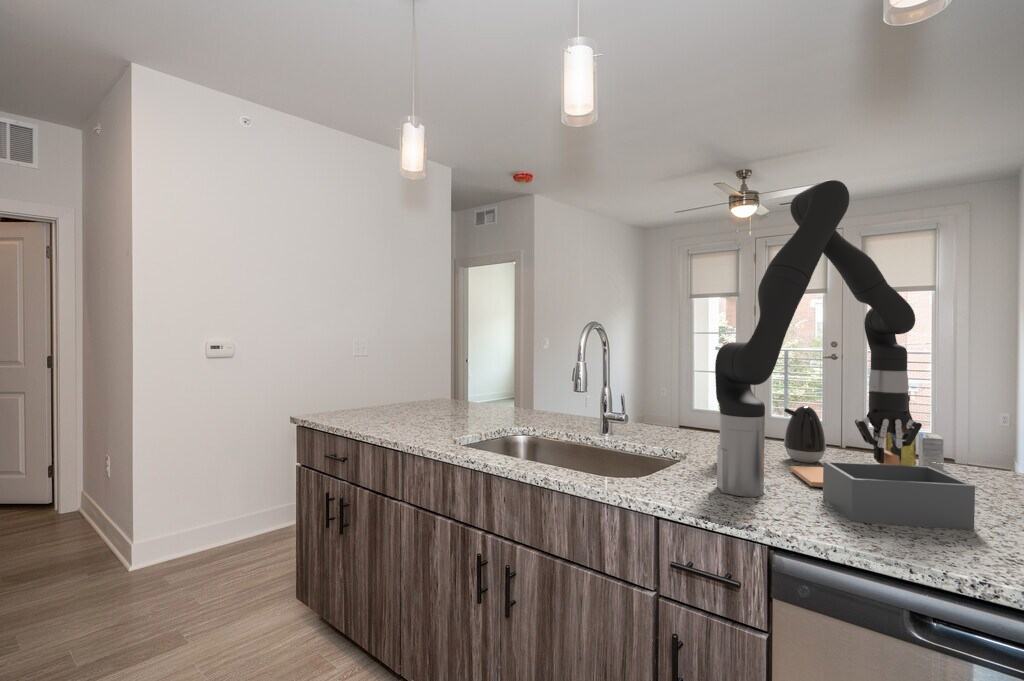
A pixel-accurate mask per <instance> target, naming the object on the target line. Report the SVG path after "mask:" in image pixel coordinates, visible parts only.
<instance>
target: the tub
mask: <svg viewBox="0 0 1024 681" xmlns="http://www.w3.org/2000/svg"><path fill="white" fill-rule="evenodd" d="M822 464H823V466H822V467H823V487H822V499H823V500H824V501H825V502H826V503H828V504H829V505H831V506H832V507H833V509H835V510H837V511H838V512H839V513H840V514H842V515H843V516H844V517H845V518H846V519H848V520H849V521H850V522H852V523H865V524H881V525H893V526H894V525H895V526H896V525H897V526H907V527H908V526H911V527H921V528H922V527H923V528H926V527H927V528H939V529H940V528H941V529H942V528H943V529H953V530H968V531H969V530H971V531H975V514H976V513H975V509H976V507H975V505H976V504H975V502H976V485H974V484H971V483H970V482H967V481H964V480H963V479H960V478H957V477H954V476H953V475H951V474H948V473H946V472H941V471H939V470H936V469H934V468H932V467H928V466H920V465H916V466H908V465H887V464H880V463H866V462H865V463H864V462H863V463H861V462H842V461H823V463H822Z"/></svg>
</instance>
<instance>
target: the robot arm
mask: <svg viewBox="0 0 1024 681" xmlns="http://www.w3.org/2000/svg"><path fill="white" fill-rule="evenodd" d="M849 205H850V191H849V188H848V187H847V186H846V184H845V183H843V182H842V181H840V180H838V179H827V180H823V181H821V182H819V183H816V184H814V185H812V186H810V187H809V188H806V189H805V190H803V191H801V192H800V193H798V194H796V195H794V197H793V199H792V200H791V203H790V207H789V209H790V214H791V216H792V219H793V220H794V222H795V223H796V224H797V225H798V229H797V230H796V231H795V233H794V234H793V235H792V236H791V237H790V238H789V239H788V240H787V241H786V243H785V244H784V245H782V247H781V249H779V251H778V252H777V253H776V254H775V255H774V257H773V258H772V260H771V261H770V262H769V264H768V266H767V268H766V270H765V271H764V272H765V273H764V274H763V277H762V278H761V281H760V284H759V286H758V290H757V299H758V300H757V301H758V307H759V319H758V322H757V325H756V327H755V329H754V331H753V334H752V335H751V337H750V339H749V340H748V342H747V341H746V342H743V341H737V342H736V341H731V342H727V343H725V344H723V345H721V347H720V348H719V350H718V351H717V354H716V358H715V364H714V366H715V368H714V370H715V371H714V372H715V373H714V375H715V377H714V378H715V395H716V401H717V403H718V406H719V444H717V446H716V447H717V448H716V449H717V452H716V455H717V457H716V458H717V459H716V460H717V462H716V486H717V488H718V489H719V490H720V492H721V494H727V495H728V494H729V495H733V496H738V497H745V498H746V497H749V498H751V497H752V498H753V497H754V498H755V497H760V496H763V495H764V493H765V445H766V444H765V443H766V442H765V439H766V438H765V436H766V432H765V431H766V430H765V429H766V406H765V403H764V402H763V401H762V400H761V399H759V398H758V397H757V396H756V395H755V394H754V393H753V391H752V388H751V386H759V385H762V384H764V383H765V382H766V381H768V379H769V378H770V377H771V375H772V374H773V372H774V371H775V368H776V366H777V362H778V359H779V356H780V353H781V350H782V347H783V344H784V341H785V338H786V335H787V332H788V330H789V328H790V325H791V324H792V321H793V317H794V316H795V313H796V311H797V309H798V306H799V305H800V303H801V300H802V298H803V297H804V295H805V294H806V293H805V292H806V290H807V288H808V287H809V284H810V282H811V280H812V277H813V274H814V272H815V269H817V266H818V264H819V262H820V261H821V258H822V255H824V256H825V257H826V258H827V259H828V260H829V261H830V263H831V264H832V265H833V266H834V268H835V269H836V270H837V272H838V274H839V275H840V276H841V278H842V279H843V280H844V282H845V284H846V285H847V287H848V289H849V291H850V292H851V293H852V295H853V297H854V298H855V299H856V301H858V303H862V304H866V305H868V306H870V309H869V310H868V311H867V312H866V315H865V317H864V322H863V323H864V325H863V326H864V331H865V336H866V341H867V344H868V348H869V352H870V373H869V377H868V411H867V412H868V413H867V414H866V416H865V417H863V418H861V419H857V418H856V419H855V420H854V423H855V425H856V427H857V429H858V432H859V433H860V435H861V437H862V439H863V441H864V442H865V444H866V443H867V444H869V445H872V447H873V459H874V460H875V461H876V463H877V464H880V463H882V464H883V463H884V450H885V448H884V443H885V440H886V433H889V436H890V437H891V444H892V447H891V453H893V454H896V455H898V456H899V462H900V461H901V449H902V447H904V446H910V445H911V444H912V442H913V440H914V439H915V437H916V438H917V435H919V432H920V430H921V429H922V427H923V425H922V423H921V422H917V421H916V420H915V421H914V419H913V420H910V418H909V416H908V414H907V411H908V395H909V388H910V387H909V376H908V351H907V348H906V347H904V346H903V345H901V344H899V343H898V341H897V337H896V335H903V334H904V335H905V334H906V333H909V332H910V331H911V330H913V329H914V327H915V324H916V314H915V311H914V310H913V307H912V306H911V304H909V302H908V301H907V300H906V299H905V298H904V297H903V296H902V295H901V294H900V293H899V292H897V290H896V289H895V288H893V287H892V286H891V285H889V283H888V281H887V280H886V278H885V276H884V275H883V273H882V272H881V271H880V269H879V267H878V265H877V263H875V261H874V260H873V259H872V258H871V257H870V256H869V255H868V254H867V253H866V252H864V251H863V250H861V249H860V248H858V247H857V246H855V245H854V244H852V243H851V242H849V241H848V240H847V239H846V238H844V236H842V235H841V234H840V233H839V231H838V230H837V227H838V226H839V225H840V222H841V221H842V219H843V218H844V216H845V214H846V212H847V211H848V208H849ZM869 423H870V424H869ZM906 424H907V426H906V427H907V429H906V431H905V433H904V435H903V436H902V429H903V427H904V426H905V425H906ZM870 425H871V426H872V427H873V431H872V433H871V432H870V430H869V426H870ZM872 434H873V436H872Z"/></svg>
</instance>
